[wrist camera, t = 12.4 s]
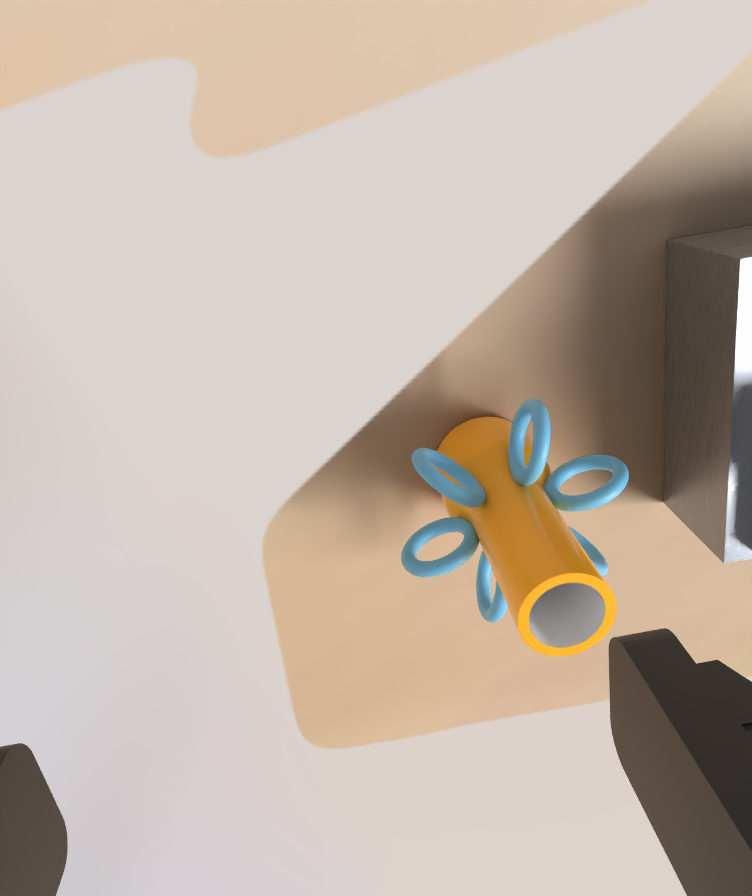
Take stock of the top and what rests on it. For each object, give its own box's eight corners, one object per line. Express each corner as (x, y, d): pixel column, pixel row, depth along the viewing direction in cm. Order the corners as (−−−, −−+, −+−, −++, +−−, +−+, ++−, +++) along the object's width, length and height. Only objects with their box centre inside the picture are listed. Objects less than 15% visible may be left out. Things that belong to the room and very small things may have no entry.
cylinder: (550, 338, 39) (679, 442, 26) (604, 489, 43) (741, 648, 30) (351, 430, 40) (372, 577, 27) (422, 569, 45) (473, 758, 31)
